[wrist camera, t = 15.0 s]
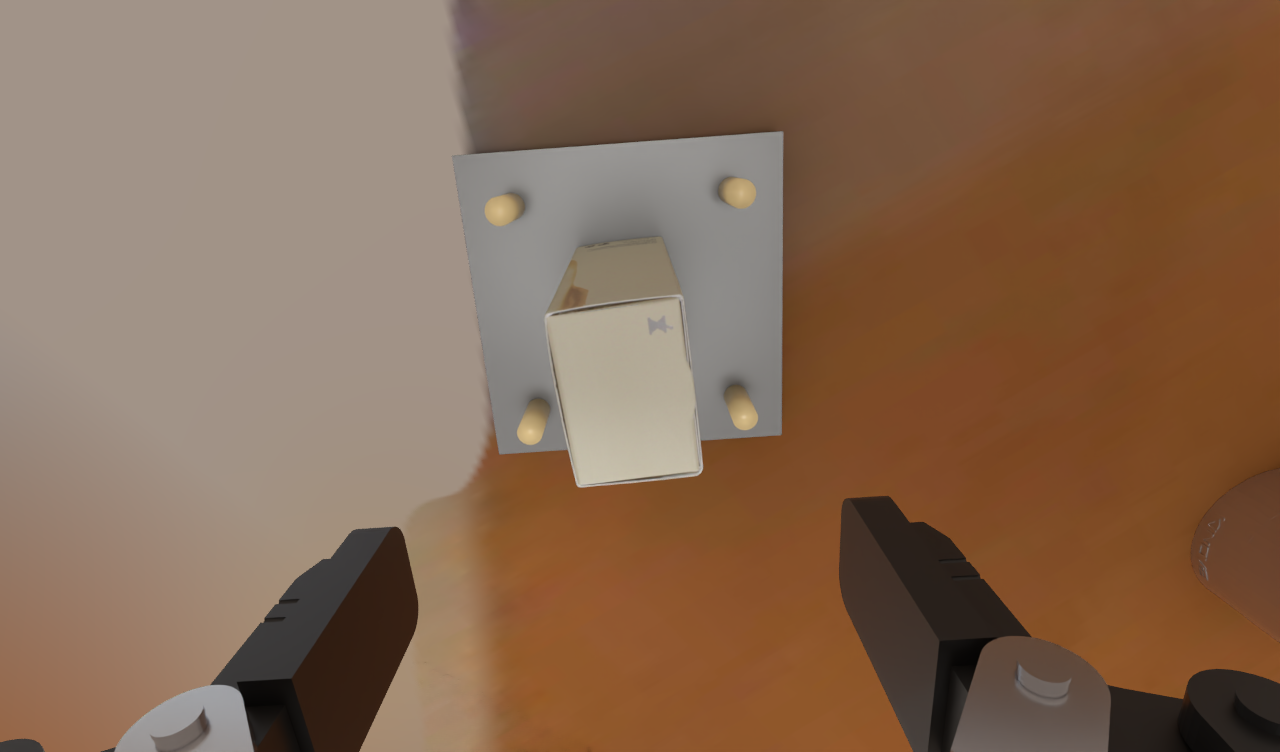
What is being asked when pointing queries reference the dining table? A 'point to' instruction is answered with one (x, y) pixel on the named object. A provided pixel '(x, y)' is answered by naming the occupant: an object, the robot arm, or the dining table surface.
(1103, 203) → the dining table surface
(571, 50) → the dining table surface
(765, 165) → the standoff plate
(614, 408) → the skincare box
